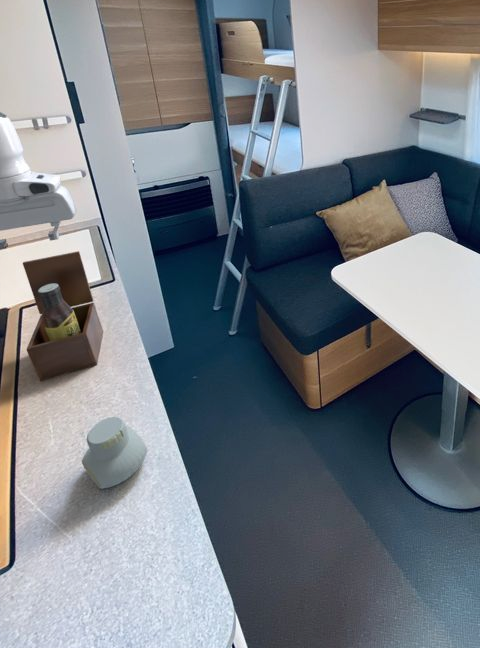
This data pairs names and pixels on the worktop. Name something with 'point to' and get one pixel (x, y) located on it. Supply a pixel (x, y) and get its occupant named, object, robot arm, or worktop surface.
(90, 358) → the bin
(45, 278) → the bin lid
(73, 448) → the worktop surface
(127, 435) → the air freshener
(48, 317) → the sauce bottle
